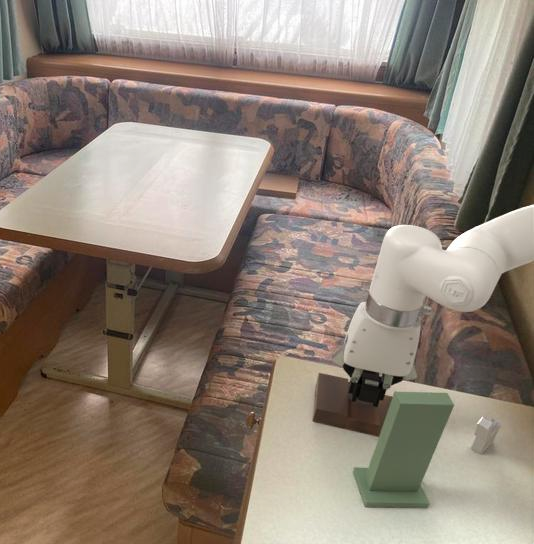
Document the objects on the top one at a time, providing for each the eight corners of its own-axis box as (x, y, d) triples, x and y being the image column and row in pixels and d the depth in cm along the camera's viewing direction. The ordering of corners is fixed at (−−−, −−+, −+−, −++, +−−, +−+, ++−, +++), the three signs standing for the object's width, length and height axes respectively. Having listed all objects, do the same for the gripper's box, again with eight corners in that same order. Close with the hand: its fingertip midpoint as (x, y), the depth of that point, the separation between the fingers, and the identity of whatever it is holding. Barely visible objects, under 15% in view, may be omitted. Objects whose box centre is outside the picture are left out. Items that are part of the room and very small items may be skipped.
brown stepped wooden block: (404, 404, 98) (409, 391, 97) (408, 443, 91) (413, 430, 89) (315, 385, 101) (318, 372, 100) (312, 421, 94) (316, 408, 92)
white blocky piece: (482, 435, 93) (499, 399, 89) (492, 442, 92) (511, 405, 88) (461, 457, 89) (478, 420, 85) (472, 464, 88) (490, 427, 84)
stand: (427, 507, 81) (469, 416, 71) (364, 506, 81) (398, 414, 71) (411, 472, 86) (448, 382, 77) (352, 471, 86) (382, 381, 76)
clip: (374, 383, 95) (380, 364, 93) (375, 404, 91) (381, 385, 89) (357, 379, 96) (362, 361, 94) (357, 400, 92) (363, 381, 90)
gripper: (447, 303, 86) (413, 394, 96) (336, 283, 89) (314, 373, 99) (454, 333, 80) (417, 426, 90) (335, 310, 83) (312, 403, 93)
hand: (364, 397), depth 94 cm, fingers closed on clip, 2 cm apart
